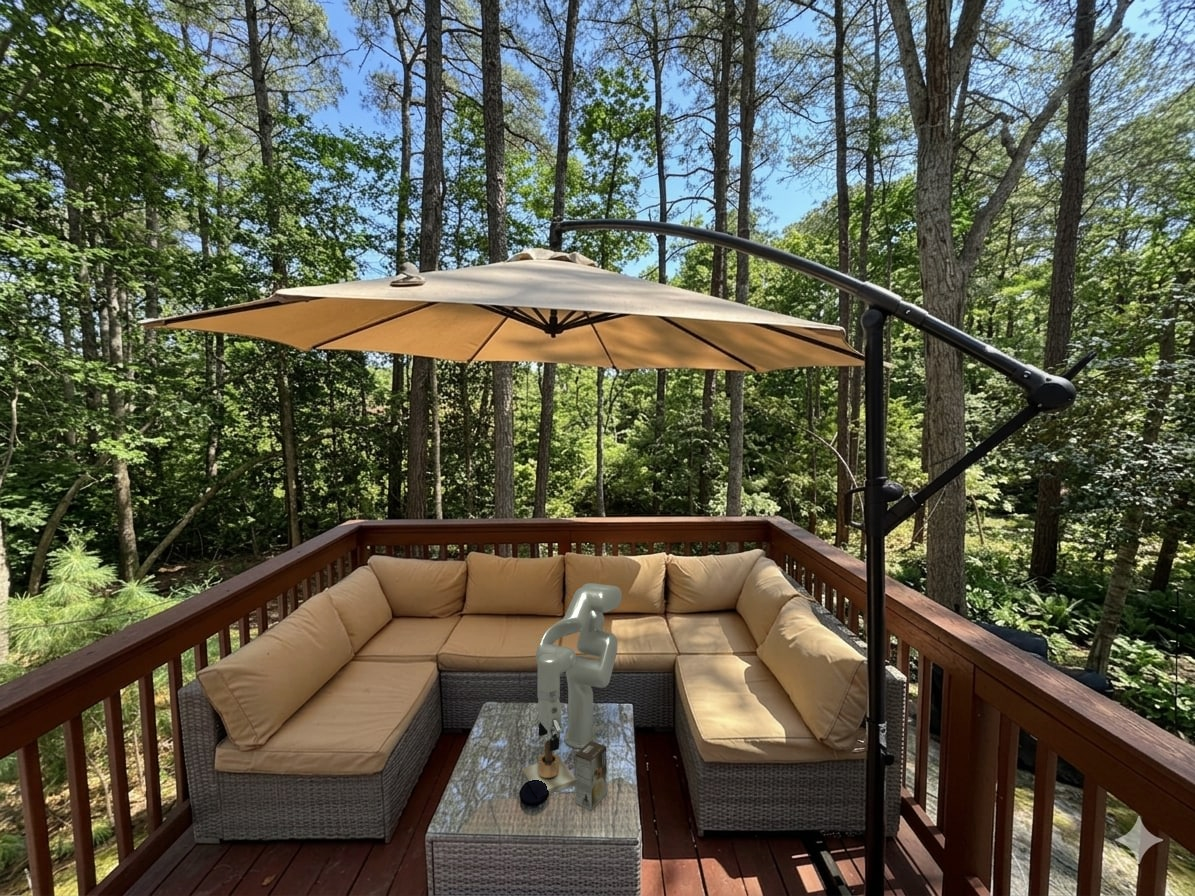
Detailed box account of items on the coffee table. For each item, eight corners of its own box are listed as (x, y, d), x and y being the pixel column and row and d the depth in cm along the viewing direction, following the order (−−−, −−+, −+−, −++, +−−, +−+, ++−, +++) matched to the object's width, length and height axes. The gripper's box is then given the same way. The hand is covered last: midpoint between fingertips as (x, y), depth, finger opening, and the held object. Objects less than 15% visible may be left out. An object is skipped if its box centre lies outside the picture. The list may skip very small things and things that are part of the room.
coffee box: (590, 787, 172) (590, 739, 172) (607, 794, 169) (607, 745, 168) (574, 803, 164) (575, 753, 164) (591, 811, 161) (592, 760, 161)
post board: (559, 762, 185) (559, 725, 185) (576, 785, 173) (576, 746, 173) (521, 774, 179) (521, 735, 178) (536, 799, 166) (537, 758, 166)
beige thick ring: (554, 762, 181) (554, 750, 180) (562, 773, 174) (562, 761, 174) (535, 768, 177) (535, 756, 177) (542, 780, 171) (542, 768, 171)
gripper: (569, 701, 169) (569, 752, 170) (549, 679, 185) (549, 726, 185) (548, 706, 166) (548, 759, 166) (529, 684, 181) (529, 732, 181)
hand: (548, 742), depth 176 cm, fingers open, 9 cm apart
